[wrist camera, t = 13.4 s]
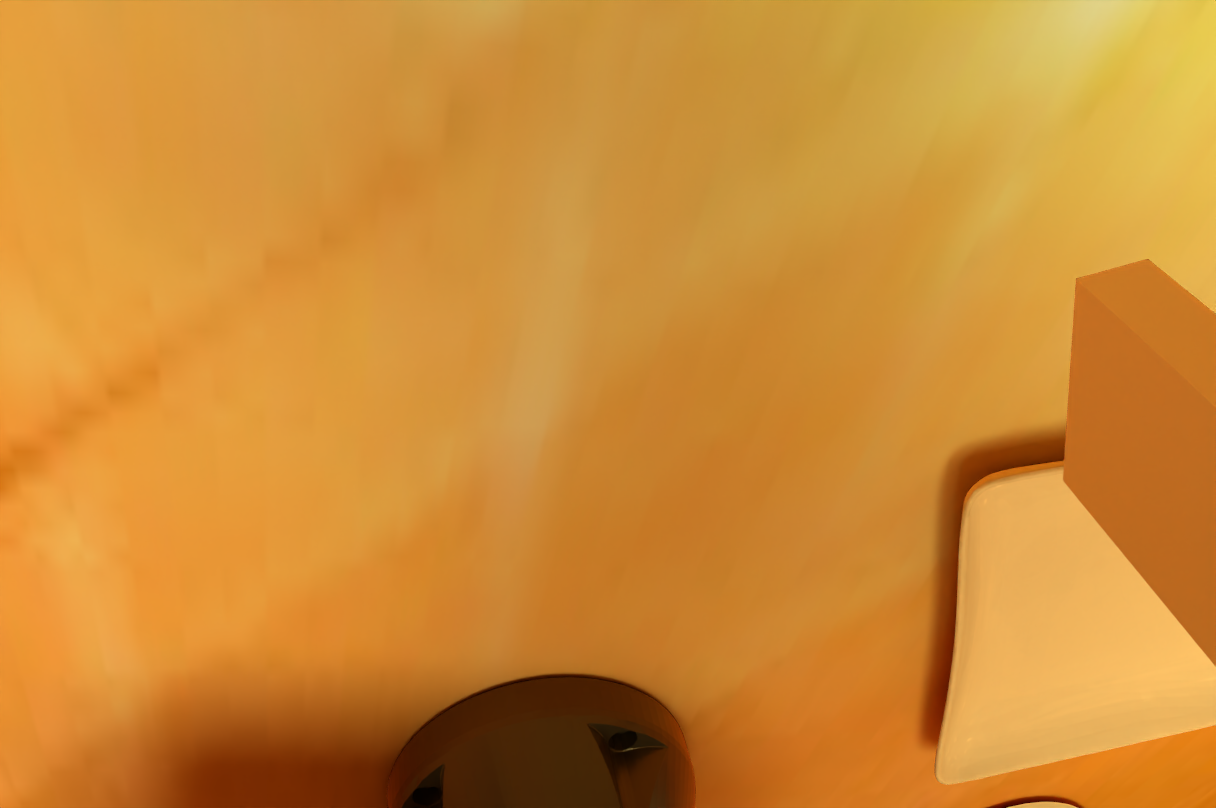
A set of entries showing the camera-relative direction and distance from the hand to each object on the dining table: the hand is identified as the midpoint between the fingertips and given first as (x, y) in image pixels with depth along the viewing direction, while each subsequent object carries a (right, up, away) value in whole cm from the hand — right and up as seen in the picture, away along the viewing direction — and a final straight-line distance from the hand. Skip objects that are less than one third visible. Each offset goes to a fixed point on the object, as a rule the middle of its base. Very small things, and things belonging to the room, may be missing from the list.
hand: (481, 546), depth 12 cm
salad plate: (+27, -7, +45) cm, 53 cm away
